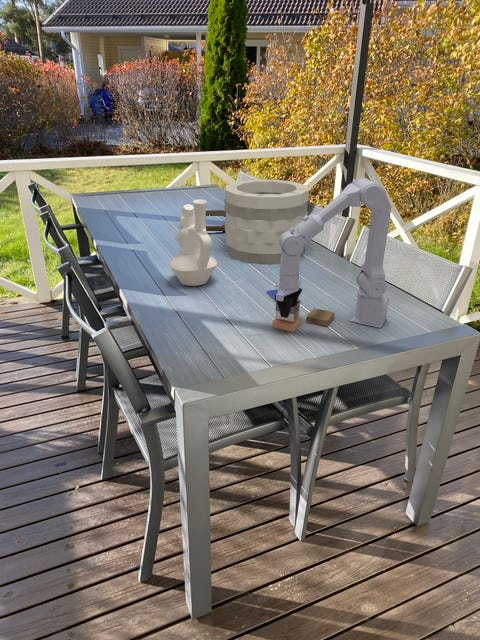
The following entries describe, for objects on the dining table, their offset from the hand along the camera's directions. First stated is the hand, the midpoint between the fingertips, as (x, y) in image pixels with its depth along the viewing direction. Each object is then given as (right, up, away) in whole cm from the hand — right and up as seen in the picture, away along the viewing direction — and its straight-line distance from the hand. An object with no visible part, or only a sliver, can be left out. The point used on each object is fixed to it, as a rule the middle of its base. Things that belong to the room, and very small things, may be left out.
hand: (287, 313), depth 153 cm
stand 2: (+11, -2, +5) cm, 12 cm away
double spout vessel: (-31, +11, +31) cm, 46 cm away
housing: (0, -1, +1) cm, 1 cm away
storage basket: (-4, +28, +65) cm, 71 cm away
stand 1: (0, -3, +2) cm, 4 cm away
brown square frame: (-29, +46, +100) cm, 113 cm away
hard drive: (0, +5, +20) cm, 20 cm away
